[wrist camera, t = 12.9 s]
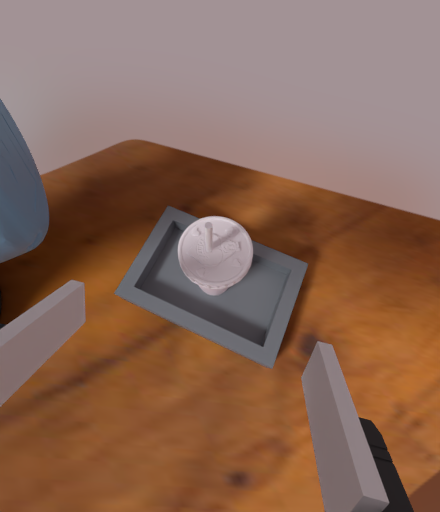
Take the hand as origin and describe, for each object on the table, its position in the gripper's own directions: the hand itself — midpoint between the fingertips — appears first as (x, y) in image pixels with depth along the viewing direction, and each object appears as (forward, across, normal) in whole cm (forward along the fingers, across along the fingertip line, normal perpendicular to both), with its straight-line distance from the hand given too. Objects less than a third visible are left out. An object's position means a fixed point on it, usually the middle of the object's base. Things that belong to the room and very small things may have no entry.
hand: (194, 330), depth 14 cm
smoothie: (+15, 0, -5) cm, 16 cm away
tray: (+16, 0, -6) cm, 17 cm away
